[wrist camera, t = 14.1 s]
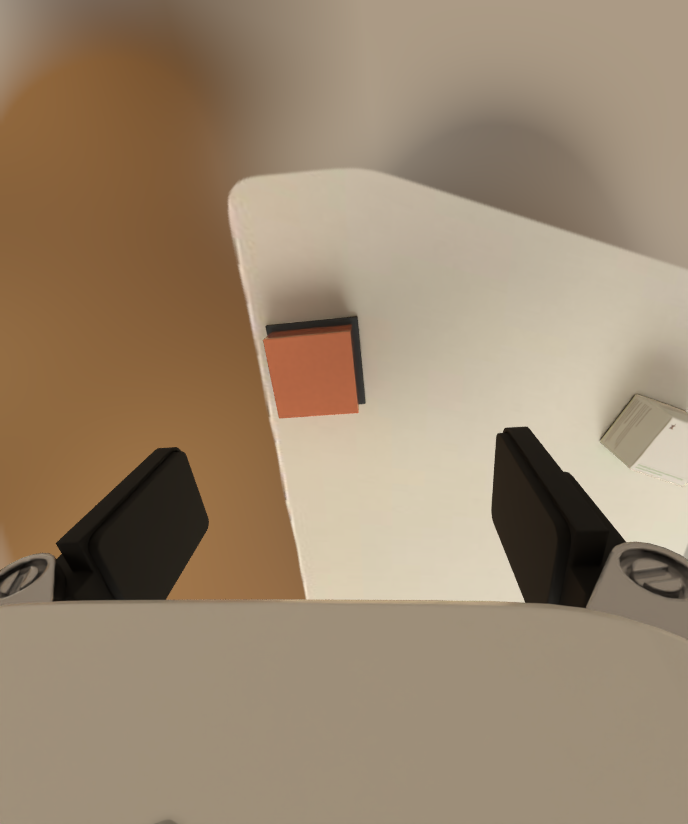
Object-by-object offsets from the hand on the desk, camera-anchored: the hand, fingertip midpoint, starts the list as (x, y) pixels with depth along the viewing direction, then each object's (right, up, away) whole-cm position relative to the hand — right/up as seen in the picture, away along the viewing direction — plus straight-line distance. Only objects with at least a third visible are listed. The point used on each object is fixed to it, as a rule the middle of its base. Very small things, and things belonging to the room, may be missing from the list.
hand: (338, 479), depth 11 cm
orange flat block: (-2, +6, +23) cm, 24 cm away
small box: (+29, +1, +24) cm, 38 cm away
